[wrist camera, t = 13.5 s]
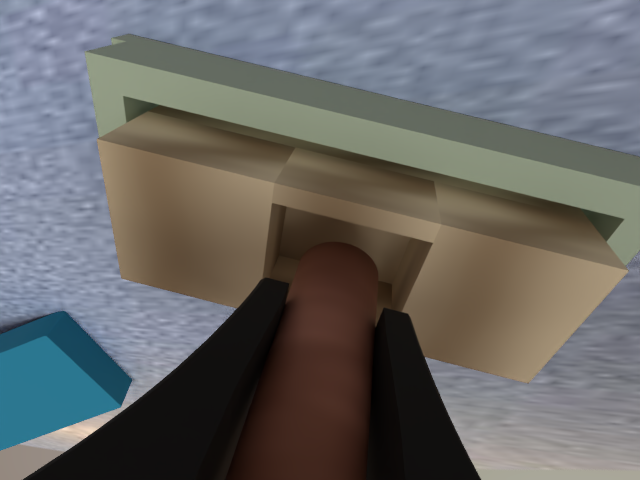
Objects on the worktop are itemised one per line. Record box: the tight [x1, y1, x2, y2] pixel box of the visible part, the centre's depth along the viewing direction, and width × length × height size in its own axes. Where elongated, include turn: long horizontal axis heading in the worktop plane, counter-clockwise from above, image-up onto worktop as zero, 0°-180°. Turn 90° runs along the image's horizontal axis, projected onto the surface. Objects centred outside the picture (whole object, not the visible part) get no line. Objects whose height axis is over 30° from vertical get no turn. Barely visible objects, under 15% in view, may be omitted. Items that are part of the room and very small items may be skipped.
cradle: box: [85, 34, 640, 266], centre depth 14 cm, size 18×8×3 cm, turn 80°
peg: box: [225, 242, 379, 480], centre depth 8 cm, size 2×2×7 cm
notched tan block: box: [97, 105, 629, 383], centre depth 13 cm, size 14×5×4 cm, turn 80°
